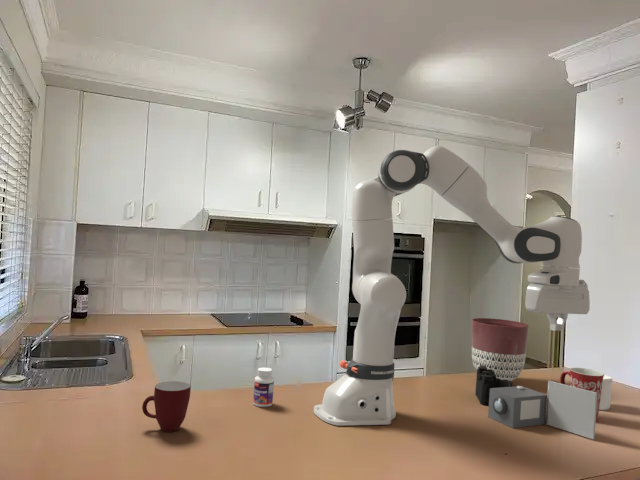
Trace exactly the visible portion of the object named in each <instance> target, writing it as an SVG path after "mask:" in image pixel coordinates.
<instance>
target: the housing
mask: <svg viewBox="0 0 640 480" xmlns="http://www.w3.org/2000/svg"><path fill="white" fill-rule="evenodd" d="M546 407H547V393H545V394H544V393H542V392H540V391H537V390H534V389H531V388H529V387H525V386H522V385H516V386H513V387H501V388H490V395H489V406H488V413H487V414H488V416H487V417H488V418H490V419H492V420H494V421H496V422H499V423H500V424H502V425H505V426H507V427H509V428H511V429H516V428H517V429H518V428H525V427H526V426H527V427H534V425H535V426H542V424H543V425H546Z"/></svg>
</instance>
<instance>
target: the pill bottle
mask: <svg viewBox="0 0 640 480" xmlns="http://www.w3.org/2000/svg"><path fill="white" fill-rule="evenodd" d="M272 375H273V368H270V367H258V368H257V376H255V378H254V382H253V383H254V385H253V397H252V399H253V400H252V404H253V405H254V406H255V407H259V408H267V407H271V406H273V403H274V402H273V400H274V388H275V387H274V386H275V378H274V377H273V376H272Z"/></svg>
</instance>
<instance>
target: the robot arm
mask: <svg viewBox="0 0 640 480" xmlns="http://www.w3.org/2000/svg"><path fill="white" fill-rule="evenodd" d="M421 184H422V185H425V186H428V187H430V188H431V189H432V190H434V191H435V193H437V195H439V196H440V197H441V198H442V199H443V200H445V201H446V202H447V203H449V204H450V205H452V207H454V208H456V209H457V210H459V211H461V212H462V213H463V214H465V216H467V217H469V218H470V219H471V220H473V221H474V223H476V224H477V225H478V226H479V227H480V228H481V229H482V230H483V231H484V232H485V233H486V234H487V235H488V236H489V237H491V239H492V240H493V241H494V242H495V244H496V247H497V249H498V251H499V253H500V254H501V256H502V258H503V259H504V260H505V261H508V262H510V263H512V264H535V263H539V262H542V263H543V264H542V265H543V266H542V269H540V270H538V271H534V272H532V273H529V274H528V275H527V282H528V283H529V284H528V285H527V287H526V292H525V303H524V305H525V309H526V311H527V312H529V313H530V312H531V313H534V314H547V320H548V322H549V330H550V331H555V332H556V331H558V332H562V331H563V330H564V325H565V323H566V321H567V320H568V316H569V315H587V314H588V313H589V311H590V304H591V303H590V301H591V300H590V291H589V286H588V284H587V283H586V281H585V280H584V279H580V275H581V273H580V271H581V267H580V266H581V265H580V256H581V254H582V246H583V245H582V243H583V238H582V237H583V235H582V234H583V232H582V227H581V224H580V222H578V220H575V219H573V218H571V217H567V216H561V215H560V216H559V215H553V216H550V217H549V218H547V219H546V220H544V221H541V222H539V223H536V224H533V225H529V226H526V227H518V226H516V225H514V224H511V223H510V222H509V221H508V220H507V219H506V218H505V217H504V216H503V215H501V213H499V211H497V209H495V208H494V206H492V205H491V203H490V201H489V198H488V187H487V183H486V181H485V180H484V178H483V177H482V176H481V174H480V173H479V172H478V171H477V170H476V169H475V168H474V167H473V166H471V165H470V164H469V163H468V162H466V161H465V160H464V159H463V158H461V157H460V156H459V155H457V154H456V153H454V152H453V151H451V150H450V149H448V148H446V147H444V146H441V145H434V146H432V147H430V148H428V149H426V150H425V151H424V152H423V153H421V152H416V151H411V150H408V149H407V150H406V149H398V150H393V151H391V152H389V153H388V154H387V155H386V156H385V157H384V158H383V159H382V161H381V163H380V166H379V169H378V172H377V175H376V177H374V178H372V179H366V180H365V179H364V180H362V181H361V182H358V183H356V185H355V186H354V188H353V191H352V200H351V223H352V224H351V225H352V237H353V238H352V239H353V264H352V265H353V266H352V284H351V286H352V287H351V291H352V295H353V297H354V298H355V300H356V301H357V302H358V303H359V305H360V310H359V315H358V320H357V324H356V327H355V329H354V336H353V349H352V350H353V352H352V358H351V360H350V361H349V363H348V361H345V359H344V360H343V359H342V360H340V362H339V367H340V368H341V369H344V370H346V371H345V373H344V374H343V375H341V376H340V377H339V378H338V379H337V380H336V381H334V382H333V383H331V384H330V385H329V386H328V387H326V389H325V391H324V392H323V393H324V394H323V398H322V401H321V404H315V405H314V406H313V413H314V414H315V415H316V417H318V418H319V419H320V420H322V421H323V422H326V423H328V424H330V425H333V426H337V427H338V426H339V427H341V426H344V427H345V426H373V425H374V426H378V425H379V426H380V425H383V426H384V425H388V426H389V425H391V424H392V421H393V420H394V419H395V418H397V417H396V416H397V413H396V409H395V403H394V391H393V389H394V388H393V382H394V377H395V362H394V357H395V341H396V340H395V339H396V332H397V328H398V327H397V326H398V324H399V319H400V316H401V311H402V308H403V306H404V304H405V302H406V300H407V299H406V298H407V291H406V287H405V285H404V284H403V282H402V281H401V279H399V278H398V276H397V275H394V274H393V273H392V271H391V270H392V263H393V254H394V251H395V236H394V234H395V233H394V223H393V211H392V210H393V209H392V206H393V199H394V198H395V197H397V196H400V195H403V194H405V193H407V192H410V191H411V190H413V189H414V188H415V187H416V186H417V185H421Z"/></svg>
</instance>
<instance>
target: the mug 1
mask: <svg viewBox="0 0 640 480" xmlns="http://www.w3.org/2000/svg"><path fill="white" fill-rule="evenodd" d="M190 397H191V384H189V383H187V382H185V381H177V380H175V381H173V380H172V381H171V380H170V381H164V382H163V381H162V382H159V383H157V384H155V386H154V393H153V395H149V396H147V397H146V398H145V399H144V401H143V402H142V407H141V409H142V413H143V414H144V415H145V416H146V417H148V418H151V419H156V422H157V424H158V425H159V427H160V430H161V431H163V432H167V433H168V432H169V433H170V432H171V433H173V432H176V431H179V429H180V428H181V426H182V424H183V423H184V420H185V418H186V415H187V412H188V411H187V410H188V407H189V402H190V399H191V398H190ZM149 402H153V403H154V409H155V410H154V411H155V414H153V413H150V412H149V411H148V403H149Z"/></svg>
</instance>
